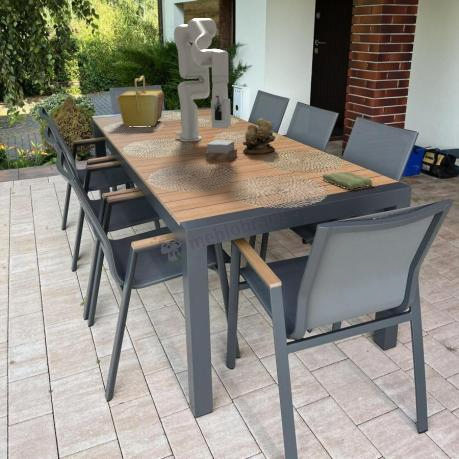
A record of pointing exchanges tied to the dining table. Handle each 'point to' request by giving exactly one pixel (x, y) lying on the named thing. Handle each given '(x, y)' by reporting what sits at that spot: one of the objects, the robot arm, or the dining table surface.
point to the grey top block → (220, 146)
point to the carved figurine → (259, 138)
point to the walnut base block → (221, 156)
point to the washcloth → (347, 180)
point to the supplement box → (225, 115)
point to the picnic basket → (140, 106)
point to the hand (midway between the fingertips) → (221, 118)
